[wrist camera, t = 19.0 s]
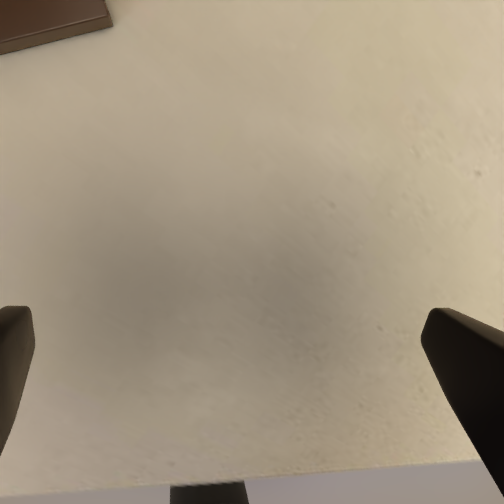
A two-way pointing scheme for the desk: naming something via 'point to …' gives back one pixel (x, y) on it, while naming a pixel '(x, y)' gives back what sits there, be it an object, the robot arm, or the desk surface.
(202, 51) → the desk surface
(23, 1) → the pencil cup stand
